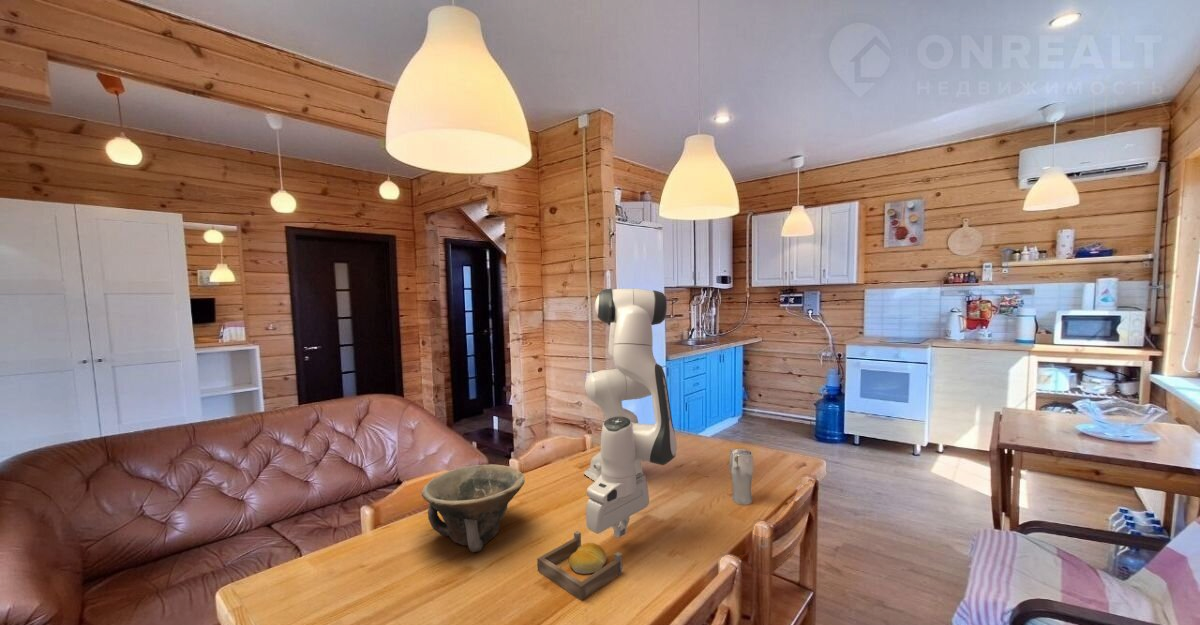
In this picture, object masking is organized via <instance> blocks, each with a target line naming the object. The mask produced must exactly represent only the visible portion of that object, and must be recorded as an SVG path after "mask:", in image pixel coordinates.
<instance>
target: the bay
mask: <svg viewBox="0 0 1200 625" xmlns="http://www.w3.org/2000/svg"><path fill="white" fill-rule="evenodd" d="M581 534H582V532H580V531H578V530H577V531H574V533H573V538H572V539H570V540H568V541H566V542H564V543H562V544H561V545H559V546H558V547H555V548H554V549H551V550H550V551H548V552H546V553H544V554H543V555H540V556H539V557H537V558H536V562H537V564H536V565H537V566H536V567H537V572H538V571H539V573H540V574H541V573H542V575H543V576H545V577H546V579H547V578H548V579H549V580H550V581H552V582H553V583H555V584H556V585H558V586H559V587H560V588H562V589H564V590H565V591H566V592H568V593H570V594H571V595H573V596H574V597H575V596H576V599H578V598H579V599H578V600H580V601H581V600H582V601H583V600H585V599H586V598H588V597H589V596H591V595H592V594H594V593H595V592H597V591H598V590H599V589H601V588H602V587H604V586H605V585H607V584H608V583H610V582H611V581H613V580H614V579H615V578H617V577H618V576H620V575H621V574H623V554H622V553H621V552H619V551H617V552H616V553H614V556H613V557H614V560H612V561H611V562H609V563H607V564H606V565H604V566H603V567H602V568H601V569H600V570H599V571H597V572H594V573H591V574H590V575H589V576H588V577H586V578H585V579H583V580H582V581H581V580H580V579H578V578H577V577H576V576H574V575H572V574H570V573H569V572H567V571H565V570H564V569H562V568H561V567H559V566H558V565H557V564H559V563H561V562H563V561H564V560H566V559H567V558H568V559H569V558H570V556H571V555H572V554H573V553H574V552H576V550H577V549H578V547H580V546H581V545H582V535H581Z"/></svg>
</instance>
